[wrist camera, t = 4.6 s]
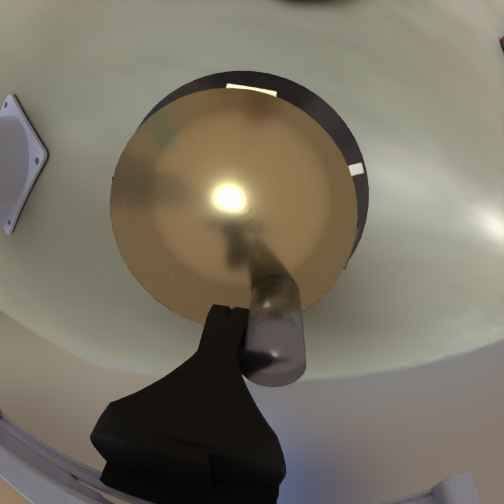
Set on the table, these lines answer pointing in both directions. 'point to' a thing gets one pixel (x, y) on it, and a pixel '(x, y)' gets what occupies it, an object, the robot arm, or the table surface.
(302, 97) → the base plate
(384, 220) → the table surface
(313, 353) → the table surface
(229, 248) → the round lid with handle
